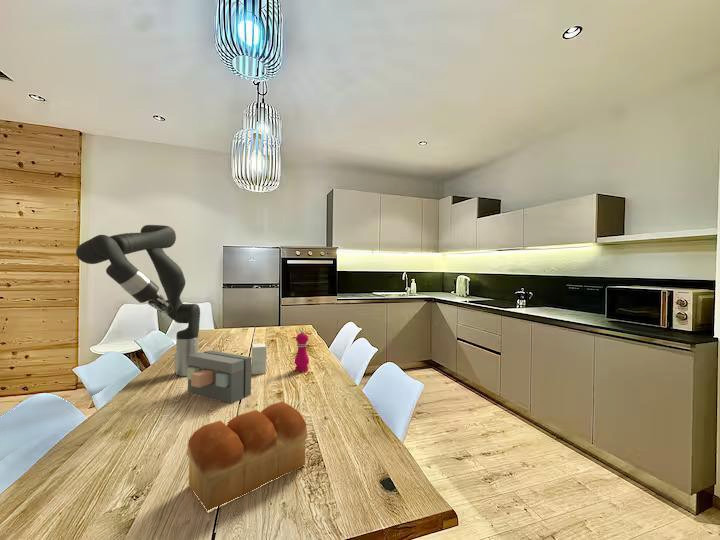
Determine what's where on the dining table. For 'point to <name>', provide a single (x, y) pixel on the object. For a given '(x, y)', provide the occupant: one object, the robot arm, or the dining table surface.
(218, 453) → the bread
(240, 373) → the keypad console
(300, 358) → the pepper mill
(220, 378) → the grey rectangular block
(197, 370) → the sage key
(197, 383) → the terracotta key
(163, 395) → the dining table surface
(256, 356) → the small box
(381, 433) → the dining table surface
